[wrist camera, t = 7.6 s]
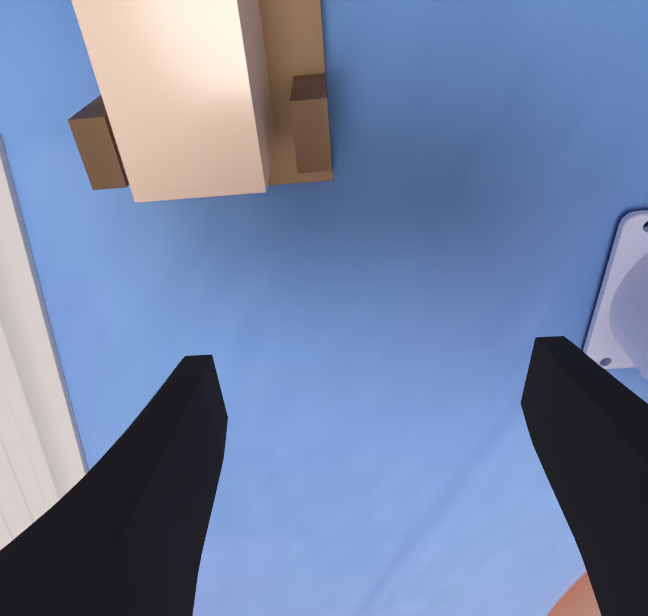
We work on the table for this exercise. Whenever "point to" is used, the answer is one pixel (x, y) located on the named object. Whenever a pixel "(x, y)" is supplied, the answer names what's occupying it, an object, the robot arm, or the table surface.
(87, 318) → the table surface
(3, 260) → the baseboard molding
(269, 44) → the rack
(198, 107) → the beige rectangular block
